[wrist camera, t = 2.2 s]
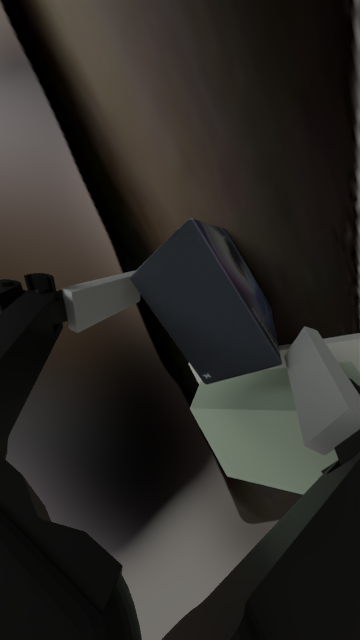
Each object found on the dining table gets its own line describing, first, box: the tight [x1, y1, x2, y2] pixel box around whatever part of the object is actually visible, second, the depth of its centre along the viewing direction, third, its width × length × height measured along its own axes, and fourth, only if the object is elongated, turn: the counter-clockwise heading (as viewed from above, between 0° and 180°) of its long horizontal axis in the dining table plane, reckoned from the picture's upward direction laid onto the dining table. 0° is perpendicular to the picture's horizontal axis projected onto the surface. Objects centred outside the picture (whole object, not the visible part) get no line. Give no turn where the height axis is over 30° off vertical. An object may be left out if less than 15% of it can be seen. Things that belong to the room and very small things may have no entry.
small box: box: [130, 218, 282, 385], centre depth 15 cm, size 11×6×10 cm, turn 37°
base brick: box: [190, 362, 360, 495], centre depth 20 cm, size 13×17×6 cm
